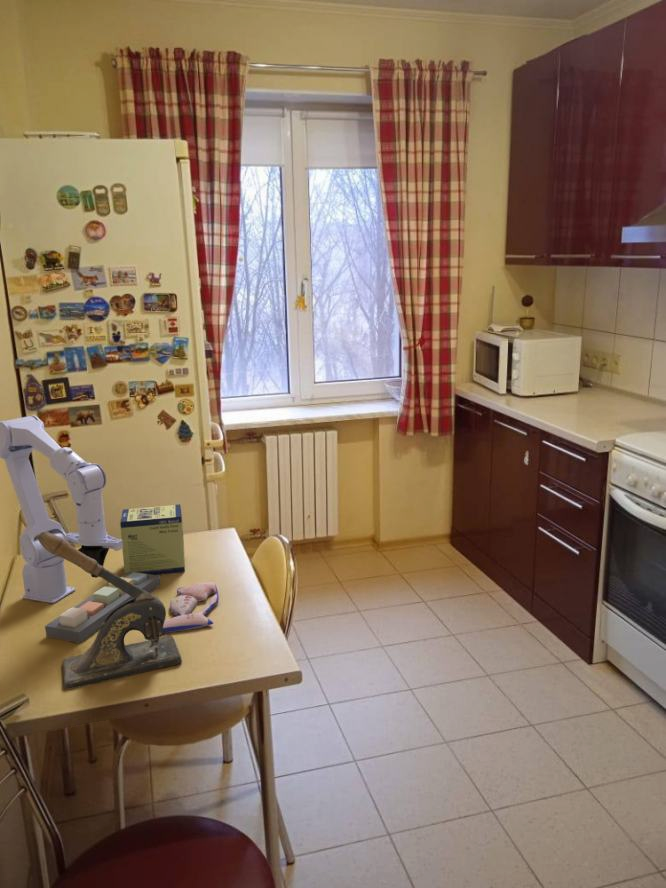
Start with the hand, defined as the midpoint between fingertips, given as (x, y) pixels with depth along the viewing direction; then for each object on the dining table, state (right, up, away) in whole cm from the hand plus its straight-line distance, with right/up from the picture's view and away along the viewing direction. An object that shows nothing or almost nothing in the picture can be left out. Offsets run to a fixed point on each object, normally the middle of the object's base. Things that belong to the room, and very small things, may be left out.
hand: (96, 575), depth 159 cm
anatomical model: (+20, -9, +3) cm, 22 cm away
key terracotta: (-1, -9, -1) cm, 10 cm away
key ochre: (+3, -6, +9) cm, 11 cm away
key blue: (+5, -6, +14) cm, 16 cm away
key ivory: (-3, -10, -6) cm, 12 cm away
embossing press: (+11, -14, -19) cm, 27 cm away
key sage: (+1, -7, +4) cm, 8 cm away
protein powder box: (+6, -3, +27) cm, 28 cm away
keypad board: (+1, -9, +4) cm, 10 cm away
